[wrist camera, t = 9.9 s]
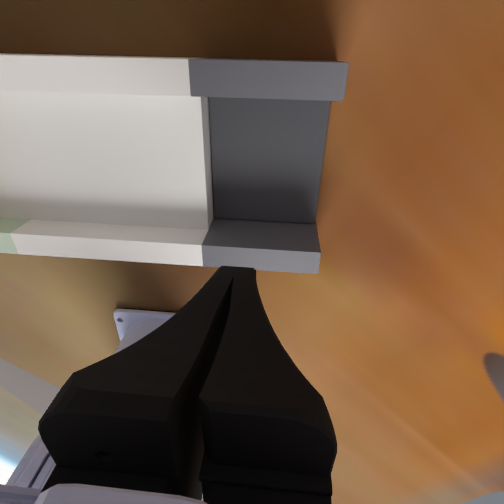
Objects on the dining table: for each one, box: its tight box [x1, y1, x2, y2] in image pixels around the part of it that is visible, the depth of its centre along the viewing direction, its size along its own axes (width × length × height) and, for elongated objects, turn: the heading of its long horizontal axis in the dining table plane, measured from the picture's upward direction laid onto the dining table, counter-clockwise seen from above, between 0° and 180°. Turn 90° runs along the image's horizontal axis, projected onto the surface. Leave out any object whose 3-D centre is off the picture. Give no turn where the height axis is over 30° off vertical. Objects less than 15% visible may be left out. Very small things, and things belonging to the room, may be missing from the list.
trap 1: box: [209, 97, 331, 223], centre depth 20 cm, size 8×7×1 cm
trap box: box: [0, 53, 349, 274], centre depth 20 cm, size 11×34×4 cm, turn 89°
